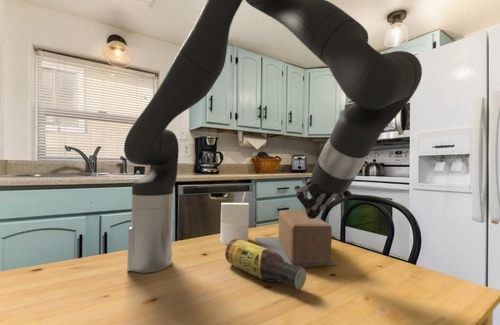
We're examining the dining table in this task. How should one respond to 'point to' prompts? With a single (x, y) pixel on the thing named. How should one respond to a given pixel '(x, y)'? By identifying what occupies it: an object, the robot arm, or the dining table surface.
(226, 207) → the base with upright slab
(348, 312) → the dining table surface
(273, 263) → the sauce bottle
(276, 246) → the mat
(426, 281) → the dining table surface
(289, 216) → the block
